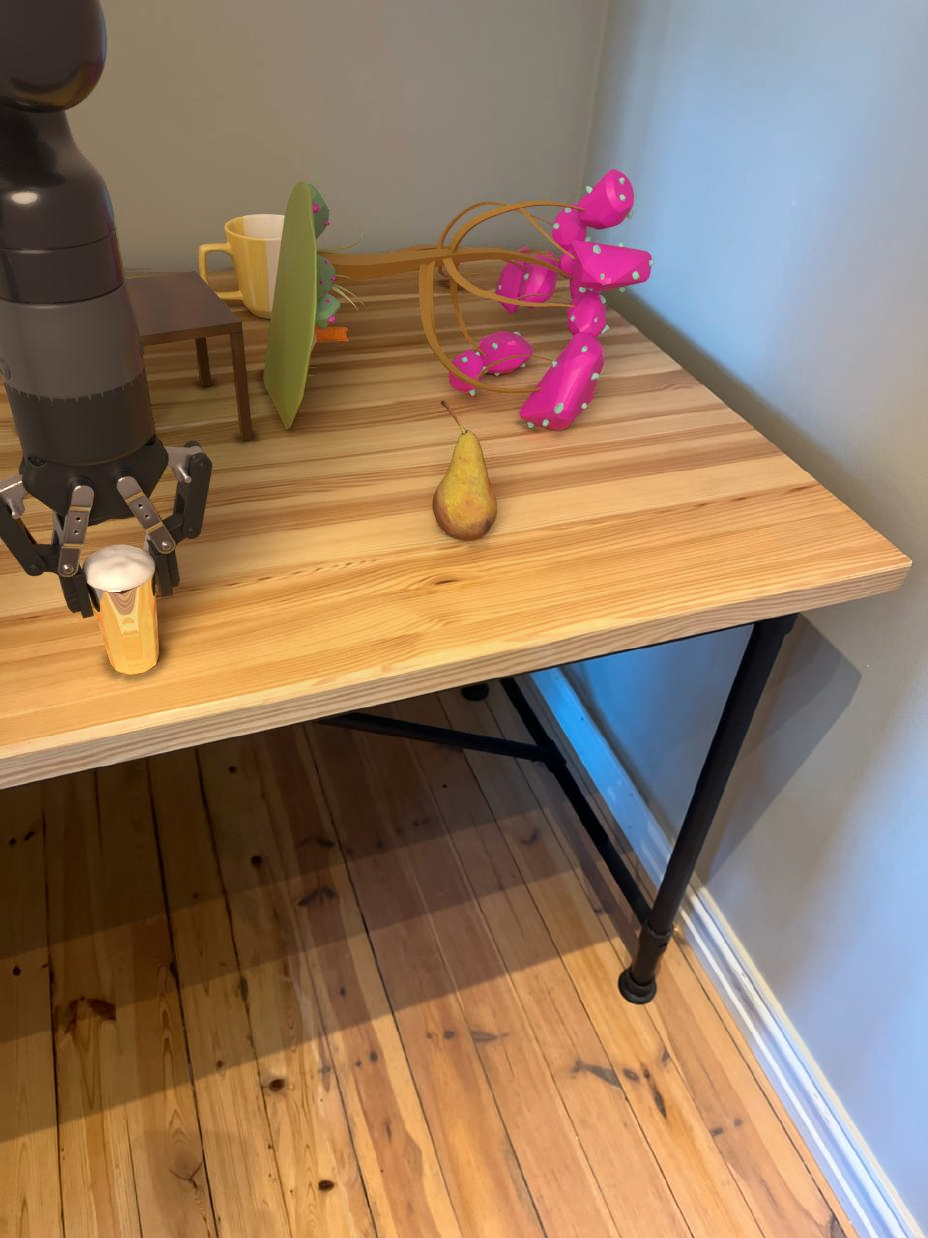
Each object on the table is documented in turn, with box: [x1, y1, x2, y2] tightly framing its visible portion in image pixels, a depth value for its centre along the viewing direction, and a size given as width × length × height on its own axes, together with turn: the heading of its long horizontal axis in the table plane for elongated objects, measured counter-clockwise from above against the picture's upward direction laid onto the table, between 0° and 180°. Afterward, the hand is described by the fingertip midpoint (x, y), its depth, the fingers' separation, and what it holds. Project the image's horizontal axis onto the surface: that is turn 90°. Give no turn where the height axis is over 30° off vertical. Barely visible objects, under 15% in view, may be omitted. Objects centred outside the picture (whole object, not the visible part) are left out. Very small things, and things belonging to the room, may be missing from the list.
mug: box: [198, 213, 285, 320], centre depth 112 cm, size 14×10×10 cm
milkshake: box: [81, 532, 160, 676], centre depth 62 cm, size 4×5×10 cm
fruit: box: [431, 400, 498, 541], centre depth 76 cm, size 6×6×12 cm
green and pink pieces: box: [262, 168, 656, 431], centre depth 94 cm, size 30×28×35 cm
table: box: [125, 270, 254, 442], centre depth 89 cm, size 12×14×12 cm
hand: (125, 599), depth 62 cm, fingers closed on milkshake, 4 cm apart
